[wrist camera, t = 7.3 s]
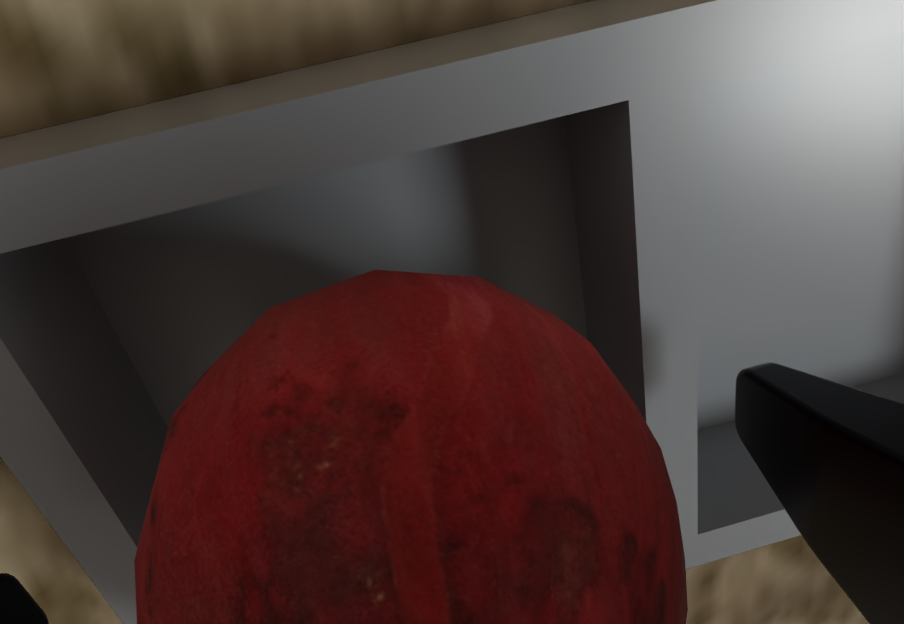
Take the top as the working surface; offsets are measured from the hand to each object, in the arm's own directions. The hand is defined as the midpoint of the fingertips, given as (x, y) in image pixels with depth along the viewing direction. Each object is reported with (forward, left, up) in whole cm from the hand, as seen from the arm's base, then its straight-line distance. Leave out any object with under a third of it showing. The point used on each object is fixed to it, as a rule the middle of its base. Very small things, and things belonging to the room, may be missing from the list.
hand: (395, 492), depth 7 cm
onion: (0, 0, -4) cm, 4 cm away
